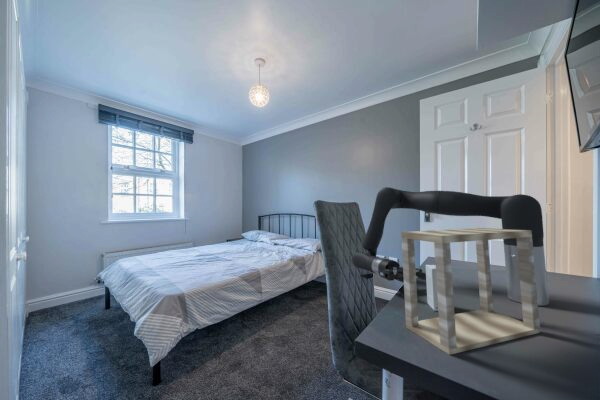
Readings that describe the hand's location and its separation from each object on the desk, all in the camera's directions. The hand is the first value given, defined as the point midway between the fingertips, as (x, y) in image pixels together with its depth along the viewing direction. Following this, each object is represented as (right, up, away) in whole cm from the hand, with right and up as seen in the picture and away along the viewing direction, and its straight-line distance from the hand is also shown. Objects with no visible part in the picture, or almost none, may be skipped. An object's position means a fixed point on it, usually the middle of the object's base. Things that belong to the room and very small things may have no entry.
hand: (416, 278), depth 78 cm
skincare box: (+2, -6, -8) cm, 11 cm away
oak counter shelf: (+2, -5, -22) cm, 23 cm away
